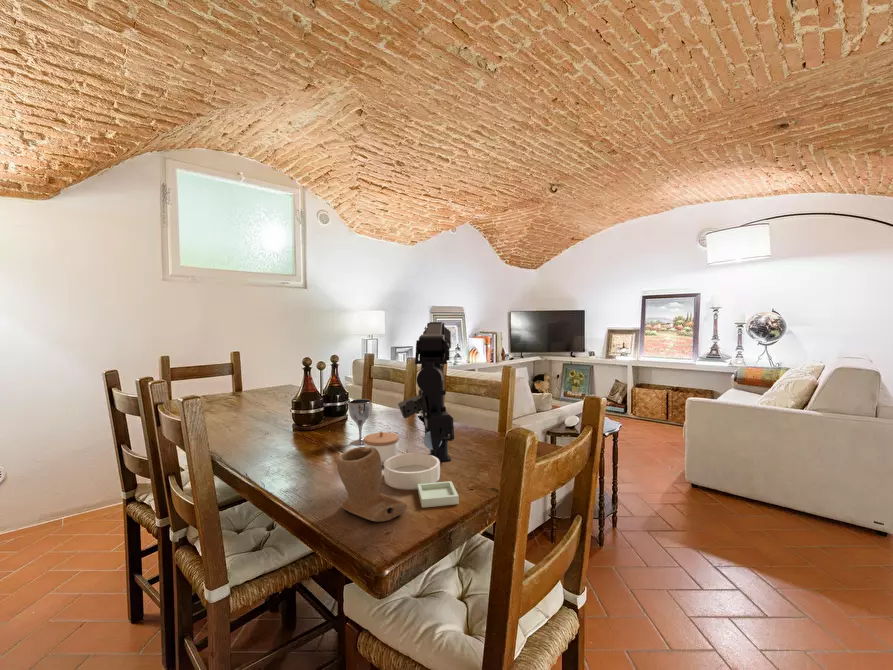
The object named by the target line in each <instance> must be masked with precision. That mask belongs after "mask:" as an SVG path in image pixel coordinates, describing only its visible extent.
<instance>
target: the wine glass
mask: <svg viewBox="0 0 893 670" xmlns="http://www.w3.org/2000/svg"><path fill="white" fill-rule="evenodd" d="M371 407H372V401H371V399H369V398H355V399H351V400H348V401H347V408H348V413H349V417H350V418H351V420H352V421H353V422H354V423H355V424H356V425H357V429H358V434H359V435H358V439H354V440H352V441H350V442H349V443H350V445H351V446H356V447H357V446H359V447H361V446H364V438H362V429H363V426H364V424H365V423H366V421H367V420H368V418H369V417H370V414H371V410H372V408H371Z"/></svg>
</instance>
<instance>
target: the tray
mask: <svg viewBox="0 0 893 670" xmlns="http://www.w3.org/2000/svg"><path fill="white" fill-rule="evenodd" d="M417 486H418V489H417V494H418V497H419V502H420V506H421V509H422V508H431V507H441V506H442V507H444V506H451V505H453V506H454V505H459V503H460V501H459V500H460V497H459V493H458V491H457V490H456V487H455V485H454V483H453V482H452V480H448V481H438V482H436V483H424V484H417Z"/></svg>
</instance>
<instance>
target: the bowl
mask: <svg viewBox="0 0 893 670" xmlns="http://www.w3.org/2000/svg"><path fill="white" fill-rule="evenodd" d="M429 454H430V453H423V452H422V453H421V452H411V453H410V452H409V453H406V452H405V453H401V454H396V456H393V457H391V458H388V459H387V460H386V461H385V462H384V465H383V476H384V477H383V478H384V484H386V485H387V486H388V487H390V488H393V489H397V490H402V491H403V490H404V491H415V490H417V491H418V486H417V484H424V483H436V482H440V480H441V479H440V475H441V461H439V459H438V458H436V457H435V456H433V455H429Z"/></svg>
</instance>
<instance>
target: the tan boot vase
mask: <svg viewBox="0 0 893 670" xmlns="http://www.w3.org/2000/svg"><path fill="white" fill-rule="evenodd" d="M382 466H383V465H381V458H380V454H379V452H378V451H377V450H376V449H375V448H374V447H370V448H367V447H365V446H359V447H355V448H352V449H349V450H346V451H344V452H342V453H340V455H338V457H337V460H336V469H337V473H338V476H339V478H340V480H341V482H342V485H343V486H344V488H345V490H346V492H347V498H345V499H343V501H342V502H341V508H343V509H344V510H345V511H346V512H348V513H351V514H353V515H356V516H358V517H360V518H363V519H365V520H368V521H371V522H387V521H390V520H393V519H395V518H396V517H398V516H399V515H401V514H403V513H404V512H405V511H406V510H407V509H408V508H409V504H408V503H407V502H404V501H402V500H399V499H397V498H394V497H392V496H389V495H386V494H383V493H382V491H381V489H382V488H381V485H382V484H381V483H382V475H383V474H382V473H383V468H382Z"/></svg>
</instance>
